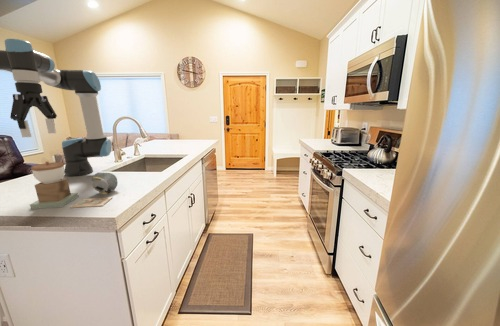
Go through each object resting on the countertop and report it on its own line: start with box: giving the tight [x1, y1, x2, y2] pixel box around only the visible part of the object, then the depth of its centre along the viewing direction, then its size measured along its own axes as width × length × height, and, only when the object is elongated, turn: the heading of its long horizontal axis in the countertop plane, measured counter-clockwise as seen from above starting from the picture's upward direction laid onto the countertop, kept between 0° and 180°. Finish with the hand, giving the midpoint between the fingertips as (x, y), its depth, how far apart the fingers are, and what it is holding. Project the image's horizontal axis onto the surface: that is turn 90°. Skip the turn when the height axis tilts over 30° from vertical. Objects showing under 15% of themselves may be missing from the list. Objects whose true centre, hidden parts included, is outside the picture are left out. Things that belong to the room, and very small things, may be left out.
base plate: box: [29, 192, 79, 210], centre depth 100 cm, size 12×12×2 cm
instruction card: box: [69, 196, 113, 209], centre depth 99 cm, size 9×13×1 cm
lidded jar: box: [30, 160, 65, 184], centre depth 96 cm, size 11×11×9 cm
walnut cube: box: [34, 178, 72, 202], centre depth 99 cm, size 8×8×8 cm
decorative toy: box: [91, 172, 119, 195], centre depth 109 cm, size 12×10×20 cm
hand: (40, 135), depth 92 cm, fingers open, 13 cm apart
